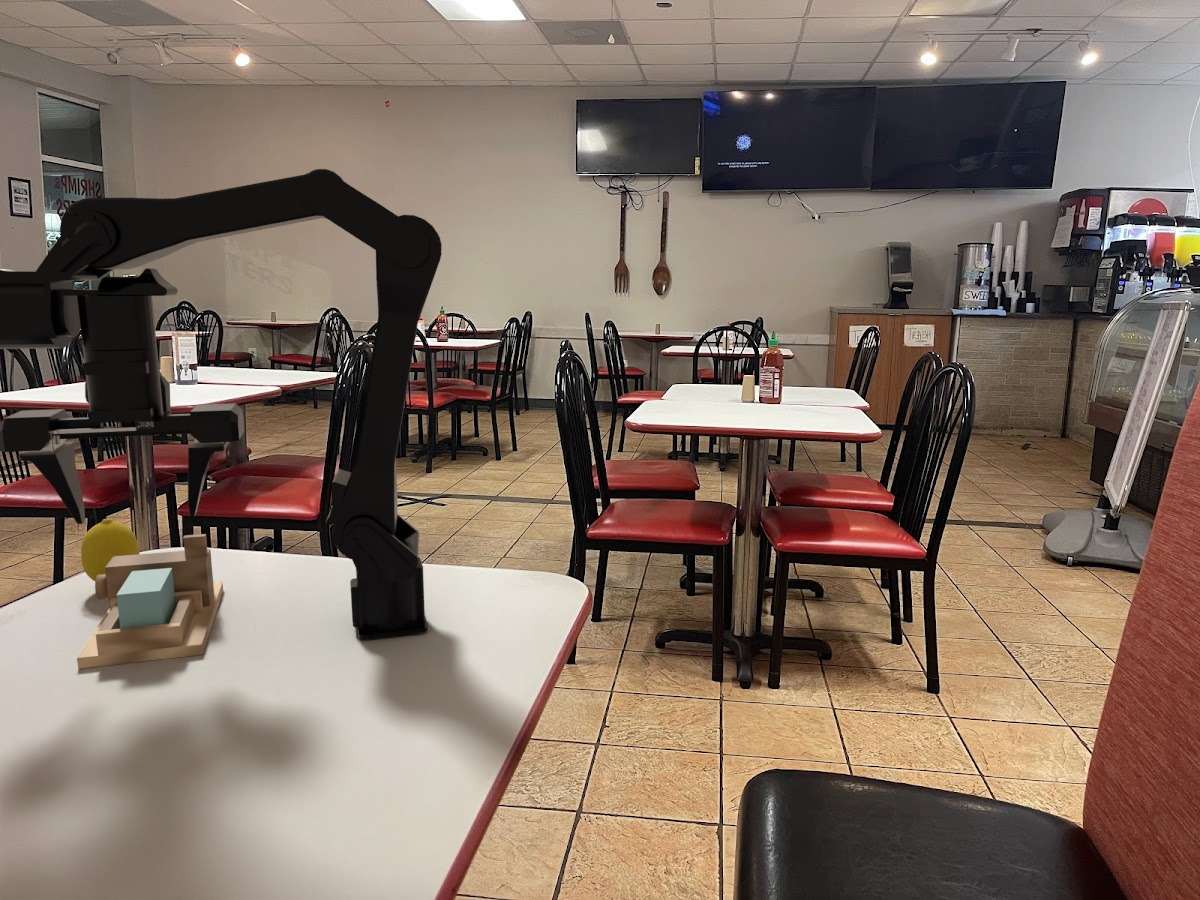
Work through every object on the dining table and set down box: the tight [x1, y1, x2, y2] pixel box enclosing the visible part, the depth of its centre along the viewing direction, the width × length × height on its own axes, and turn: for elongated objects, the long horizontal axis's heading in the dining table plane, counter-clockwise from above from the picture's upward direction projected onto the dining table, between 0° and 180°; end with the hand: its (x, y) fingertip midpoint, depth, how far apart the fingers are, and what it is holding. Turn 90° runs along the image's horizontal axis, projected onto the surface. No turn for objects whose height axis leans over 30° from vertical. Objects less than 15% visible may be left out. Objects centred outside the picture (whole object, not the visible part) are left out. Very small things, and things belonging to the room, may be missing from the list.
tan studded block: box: [94, 533, 214, 607], centre depth 86 cm, size 10×4×7 cm, turn 108°
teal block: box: [117, 568, 176, 629], centre depth 80 cm, size 4×6×5 cm, turn 18°
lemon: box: [80, 518, 140, 582], centre depth 93 cm, size 6×6×8 cm
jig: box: [76, 581, 224, 670], centre depth 84 cm, size 10×17×3 cm, turn 18°
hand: (138, 519), depth 78 cm, fingers open, 9 cm apart
